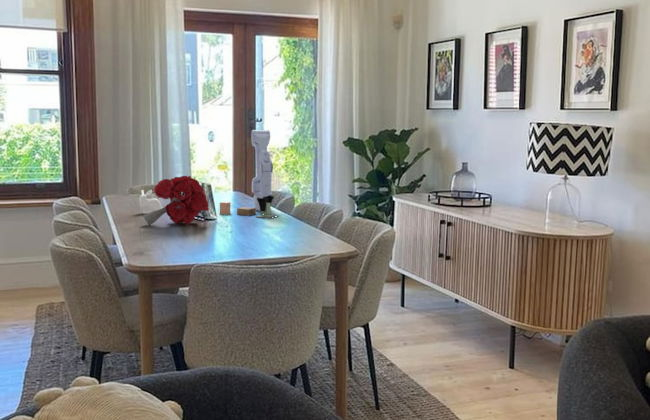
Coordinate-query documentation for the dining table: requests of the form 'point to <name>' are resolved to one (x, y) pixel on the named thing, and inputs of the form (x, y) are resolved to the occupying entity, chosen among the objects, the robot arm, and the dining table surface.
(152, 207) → the rabbit
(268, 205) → the sage block
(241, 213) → the walnut slab
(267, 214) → the card
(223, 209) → the terracotta block
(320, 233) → the dining table surface
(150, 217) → the bouquet
